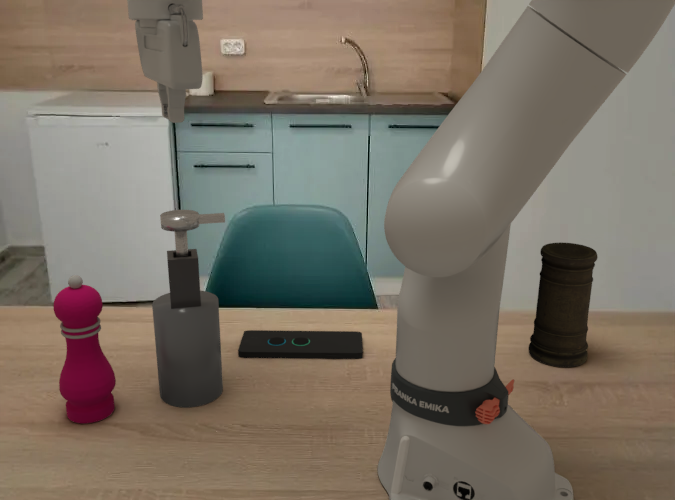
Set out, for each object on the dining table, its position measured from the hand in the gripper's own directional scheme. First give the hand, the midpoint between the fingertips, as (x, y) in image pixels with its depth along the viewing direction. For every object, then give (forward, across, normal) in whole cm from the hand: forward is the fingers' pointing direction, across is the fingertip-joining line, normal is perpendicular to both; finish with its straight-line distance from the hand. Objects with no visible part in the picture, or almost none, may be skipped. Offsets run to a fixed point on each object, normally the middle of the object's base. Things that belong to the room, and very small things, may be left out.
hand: (173, 120), depth 88 cm
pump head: (+21, 0, -2) cm, 21 cm away
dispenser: (+39, 0, 0) cm, 39 cm away
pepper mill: (+39, 0, +14) cm, 42 cm away
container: (+39, -12, -57) cm, 70 cm away
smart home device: (+40, +7, -20) cm, 45 cm away
